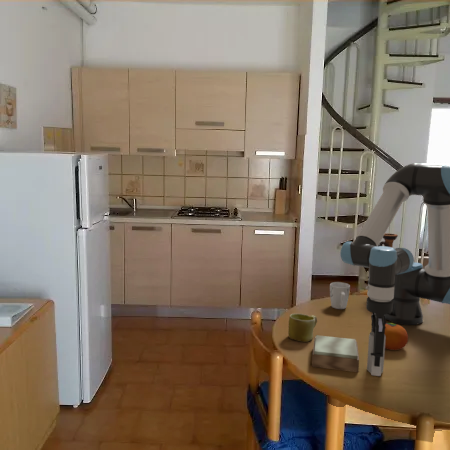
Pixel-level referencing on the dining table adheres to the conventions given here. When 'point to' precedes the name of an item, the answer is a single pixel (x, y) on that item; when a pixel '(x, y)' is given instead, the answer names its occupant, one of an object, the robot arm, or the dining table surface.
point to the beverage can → (370, 350)
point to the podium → (335, 353)
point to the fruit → (395, 336)
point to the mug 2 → (339, 294)
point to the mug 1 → (301, 327)
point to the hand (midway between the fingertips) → (374, 370)
